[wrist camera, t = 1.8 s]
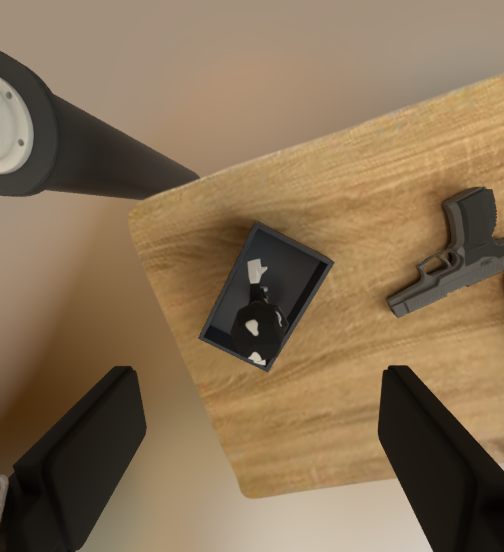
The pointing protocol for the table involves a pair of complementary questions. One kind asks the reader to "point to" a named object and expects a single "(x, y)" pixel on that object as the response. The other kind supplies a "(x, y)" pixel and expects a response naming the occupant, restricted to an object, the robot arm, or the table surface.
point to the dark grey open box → (267, 285)
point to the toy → (258, 322)
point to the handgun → (459, 252)
